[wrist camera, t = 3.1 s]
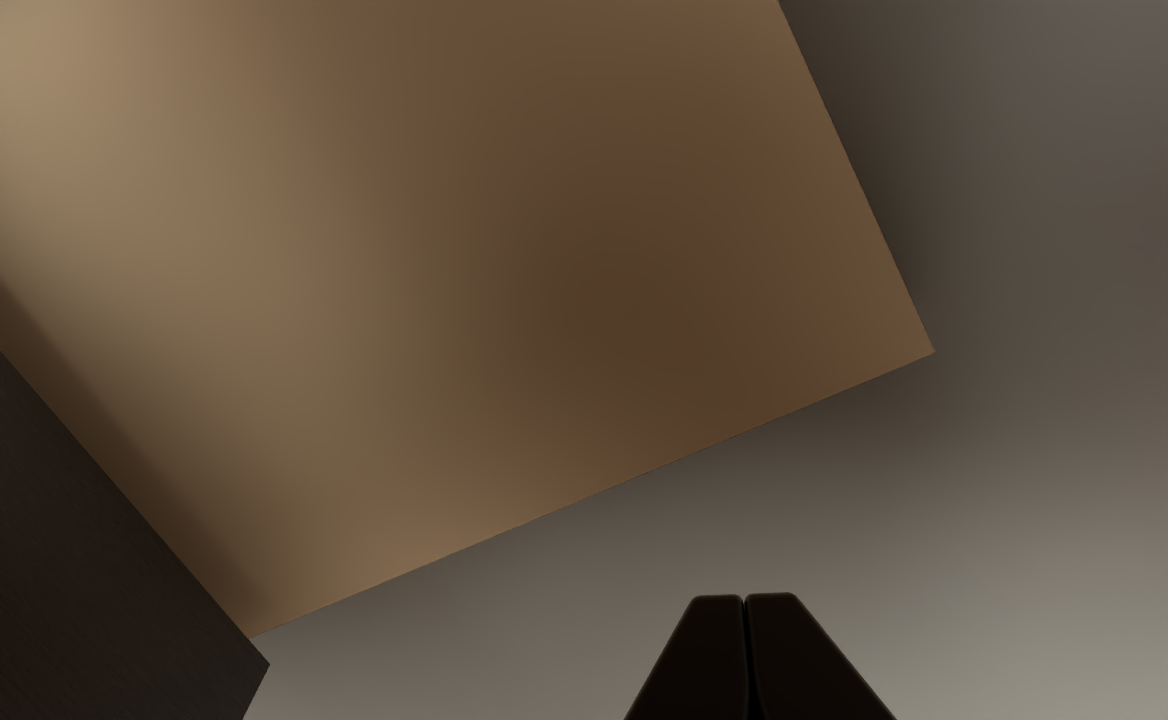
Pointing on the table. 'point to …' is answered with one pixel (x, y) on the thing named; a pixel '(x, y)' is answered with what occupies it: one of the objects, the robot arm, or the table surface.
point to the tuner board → (418, 263)
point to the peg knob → (99, 592)
